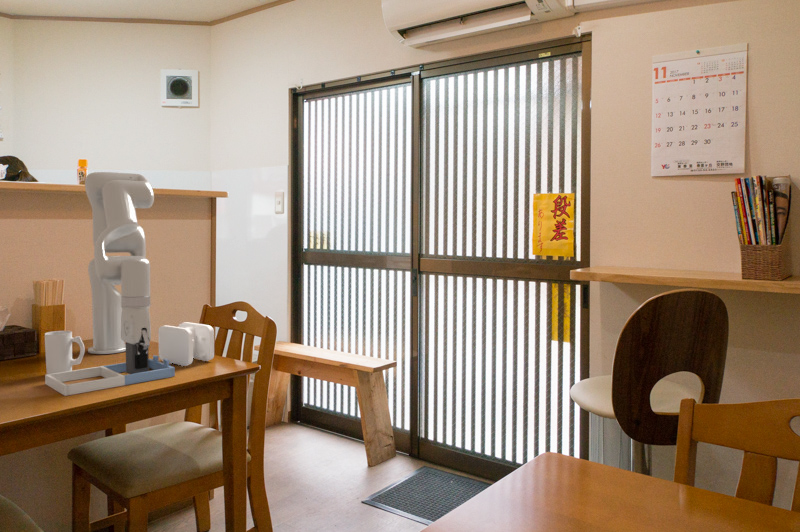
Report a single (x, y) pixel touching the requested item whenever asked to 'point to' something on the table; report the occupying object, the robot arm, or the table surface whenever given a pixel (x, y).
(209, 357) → the cable organizer
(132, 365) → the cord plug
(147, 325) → the robot arm
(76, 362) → the mug
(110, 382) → the shallow tray
